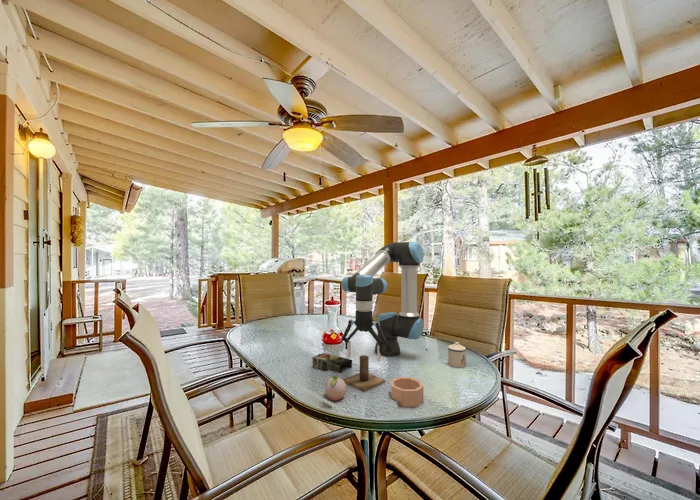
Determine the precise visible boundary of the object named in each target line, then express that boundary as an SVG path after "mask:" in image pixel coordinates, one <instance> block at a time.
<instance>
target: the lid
mask: <svg viewBox="0 0 700 500" xmlns="http://www.w3.org/2000/svg"><path fill="white" fill-rule="evenodd" d="M369 360H370V359H369V355H367V354H365V355H359V373H356V374H353V375H350V376H348V377H346V378H343V379H342V380H343V381H344V382H345V383H347V384H349V385H351V386H353V387H355V388H357V389H359V390H361V391H360V392H362V391H363V392H362V393H364V392H365V391H367V390H369V391H371V390H370V389H372V388H374V387H376V386H378V387H380V386H379V385H381V384H383V383H385V382H386V379H384V378H381V377H379V376H376V375H374V374H371V373H370V372H369V369H370V367H369V364H370V363H369V362H370V361H369ZM347 384H346V385H347ZM385 384H386V383H385ZM349 385H348V386H349ZM383 385H384V384H383ZM351 386H350V387H351ZM381 386H382V385H381ZM353 387H352V388H353ZM355 388H354V389H355ZM376 388H377V387H376ZM357 389H356V390H357ZM374 389H375V388H374ZM359 390H358V391H359ZM372 390H373V389H372ZM367 392H368V391H367ZM365 393H366V392H365Z"/></svg>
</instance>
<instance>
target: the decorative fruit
mask: <svg viewBox="0 0 700 500" xmlns="http://www.w3.org/2000/svg"><path fill="white" fill-rule="evenodd" d="M346 392H347V384H345V382H344V381H343V379H342V378H340V377H339V376H338V375H333V376H332V377H330V378H329V379H327V381H326V382H325V395H326V396H327V398H328V399H329V400H330V401H340V400H341V399H342V398H343V397H344V396H345V395H346Z"/></svg>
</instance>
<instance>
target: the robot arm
mask: <svg viewBox="0 0 700 500" xmlns="http://www.w3.org/2000/svg"><path fill="white" fill-rule="evenodd" d="M424 256H425V254H424V249H423V246H422V244H420V243H419V242H417V241H399V242H398V241H394V242H391V243H388V244H386V245H384V246H382V247H381V248H379V249H378V250H377V251H376V253H375V255H374V256H373V257H372V258H371V259H370V260H368V262H366V263H365V264H364V265H363V266H362V267H361V268H360V269H358V270H357V271H356V272H355V273H353V275H352V276H344V277H343V279H342V281H341V289H342V290H343V291H344V292H348V293H355V319H354V320H353V319H349V320H348V323H347V327H346V328H345V331H344V333H343V334H342V337H341V338H340V339H341V342H342V341H343V342H344V343H345V344H344V345H345V346H344V349H345V350H346V351H347V352H346V353H347V354H346V359H350V357H351V354H352V352H351V351H352V350H351V349H352V346H351V345H352V341H351V339H352V338H353V337H354V336H355V334H356V333H357V332H358V331H359V332H365V333H367V332H368V333H370V335H371V336H372V338H373V339H374V340H375V341H376V343H375V346H374V353H375V354H376V355H377V356H376V357H377V358H376V360H377V362H380V360H381V357H395V356H400V354H401V347H400V344H399V341H398V337H399V338H402V339H409V340H418V339H419V338H421V336H422V334H423V331H424V326H425V325H424V324H425V323H424V322H425V321H424V320H423V319H422V318H420V317H421V315H420V313H418V269H419V267H420V265H421V263H423V261H424ZM390 263H391V264H392V263H398V267H399V268H400V270H401V276H400V277H401V278H400V279H401V285H400V286H401V295H400V296H401V298H400V299H401V300H400V301H401V307H400V308H401V311H400V312H399V313H398V312H396V311H391V312H390V311H389V312H382V313H380V314H378V315H377V321H373V318H374V317H373V313H374V312H373V304H374V303H373V302H374V301H373V297H374V296H375V295H381V294H384V293H385V292H386V291H387V289H388V283H387V281H386V280H385V279H384V278H382V277H374V276H375V275H376V274H378V272H380V270H381V269H383V267H385V266H388V265H389V264H390ZM353 325H354V326H355V329H354V330H353V331H352V332H351V333H350V334H349V332H350V330H351V328H352V326H353ZM373 326H374V328H375V329H376V331H377V332H376V331H375V330H374V328H373ZM348 334H349V336H348Z"/></svg>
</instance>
